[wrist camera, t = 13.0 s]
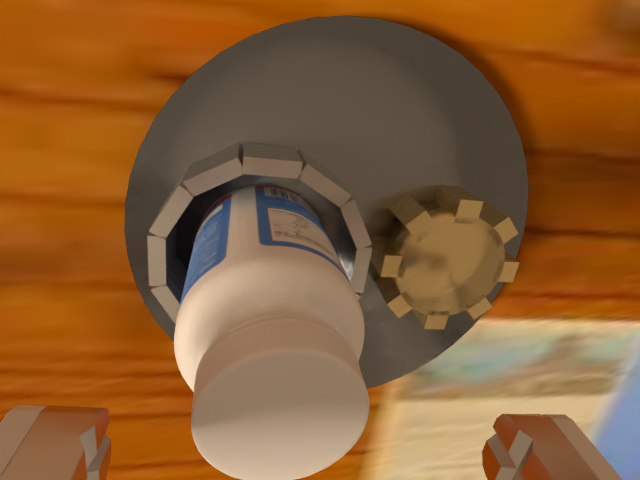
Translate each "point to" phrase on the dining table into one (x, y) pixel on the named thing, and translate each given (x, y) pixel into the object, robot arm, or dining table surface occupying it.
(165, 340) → the dining table surface
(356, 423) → the pill bottle
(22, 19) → the dining table surface
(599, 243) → the dining table surface
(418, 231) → the carrier plate
